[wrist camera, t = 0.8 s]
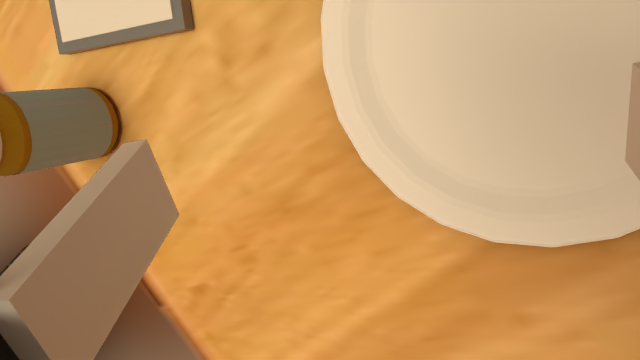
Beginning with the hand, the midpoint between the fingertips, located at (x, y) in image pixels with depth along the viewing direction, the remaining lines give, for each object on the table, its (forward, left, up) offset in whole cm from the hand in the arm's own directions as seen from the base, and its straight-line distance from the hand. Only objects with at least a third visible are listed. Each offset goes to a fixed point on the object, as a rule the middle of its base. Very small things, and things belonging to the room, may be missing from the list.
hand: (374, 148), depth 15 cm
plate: (-4, +2, -25) cm, 25 cm away
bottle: (-1, -39, -25) cm, 46 cm away
